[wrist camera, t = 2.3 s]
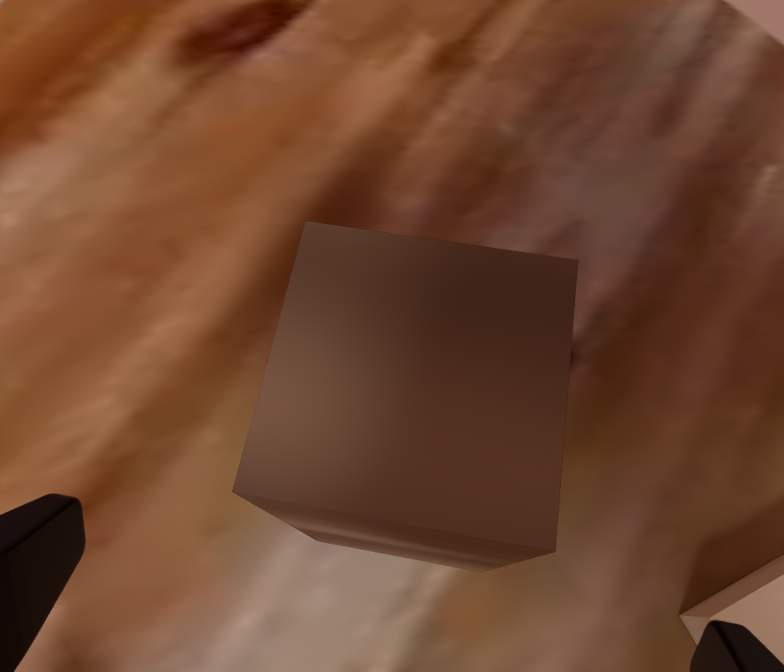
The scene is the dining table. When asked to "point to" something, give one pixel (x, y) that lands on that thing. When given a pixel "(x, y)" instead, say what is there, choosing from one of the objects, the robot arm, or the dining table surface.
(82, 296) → the dining table surface
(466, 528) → the walnut pillar
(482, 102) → the dining table surface
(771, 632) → the birch plinth
